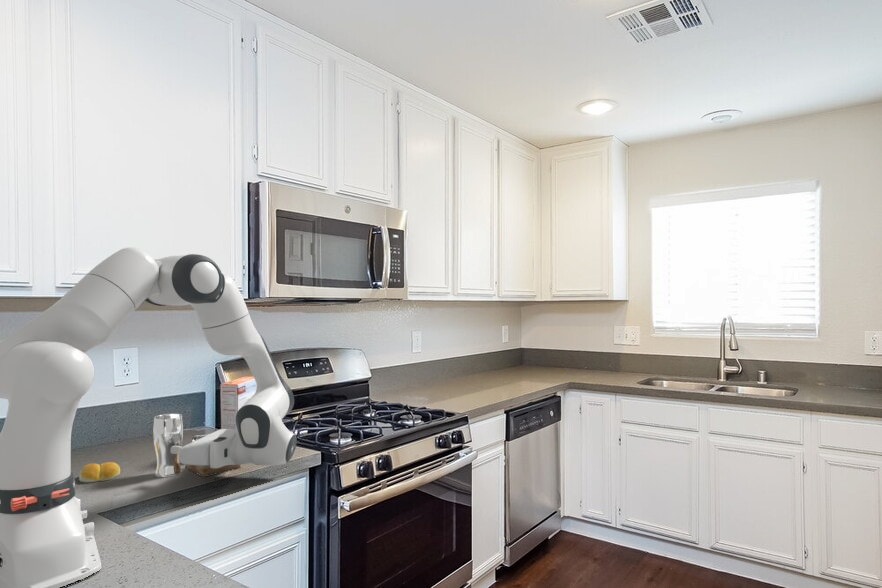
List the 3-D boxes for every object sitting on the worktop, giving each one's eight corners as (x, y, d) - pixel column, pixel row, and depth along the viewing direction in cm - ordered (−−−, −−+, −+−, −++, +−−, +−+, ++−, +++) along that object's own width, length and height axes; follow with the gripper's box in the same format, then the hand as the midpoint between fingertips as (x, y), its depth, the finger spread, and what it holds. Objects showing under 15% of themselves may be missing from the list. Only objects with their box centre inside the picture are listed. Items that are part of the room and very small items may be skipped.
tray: (240, 467, 151) (240, 460, 151) (203, 477, 143) (203, 469, 143) (221, 459, 158) (221, 452, 158) (185, 467, 151) (185, 460, 151)
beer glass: (187, 469, 150) (187, 413, 150) (176, 478, 143) (175, 419, 143) (161, 469, 149) (160, 413, 149) (148, 478, 142) (147, 419, 142)
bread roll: (120, 479, 142) (120, 463, 142) (78, 485, 138) (78, 469, 138) (120, 470, 149) (120, 455, 149) (80, 476, 145) (79, 460, 145)
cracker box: (243, 442, 176) (243, 375, 176) (261, 443, 175) (261, 376, 175) (219, 455, 162) (219, 383, 162) (239, 456, 161) (238, 383, 161)
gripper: (252, 424, 154) (205, 422, 156) (212, 444, 134) (158, 442, 135) (252, 447, 154) (205, 445, 156) (212, 471, 134) (158, 468, 135)
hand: (183, 444), depth 145 cm, fingers open, 8 cm apart
